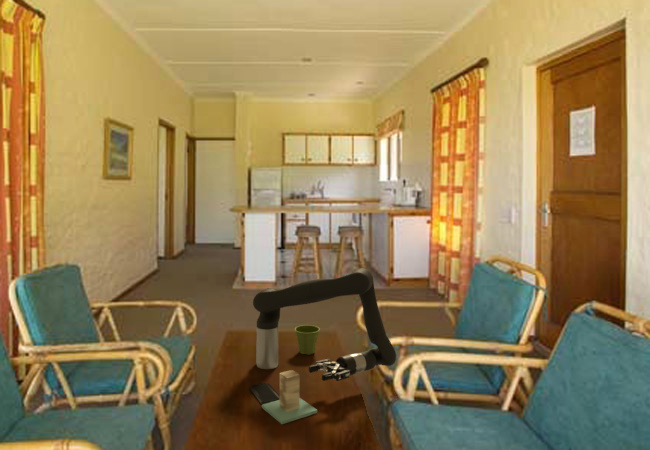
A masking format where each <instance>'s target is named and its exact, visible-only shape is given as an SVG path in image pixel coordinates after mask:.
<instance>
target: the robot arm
mask: <svg viewBox="0 0 650 450" xmlns="http://www.w3.org/2000/svg"><path fill="white" fill-rule="evenodd" d="M373 276H374V275H373V274H372V273H371V271H370V270H369V269H367V268H363V267H361V268H357V269H355V270H354V271H353V272H352V273H349V274H346V275H342V276H340V277H336V278H316V279H315V278H314V279H311V280H310V279H309V280H306V281H302V282H299V283H296V284H293V285H291V286H288V287H285V288H282V289H279V290H276V289H275V288H272V287H269V288H264V289H263V290H261V291H259V292H257V294H255V296H254V297H253V300H252V305H253V307H254V309H255V310H256V311H257V312H258V313H259V315H258V318H257V319H256V342H255V343H256V345H255V348H256V350H255V352H256V353H255V355H256V357H255V359H256V360H255V361H256V362H255V363H256V367H257V368H259V369H262V370H273V369H276V368H277V367H278V366H279V321H280V318H281V309H283V308H287V307H295V306H302V305H309V304H314V303H318V302H322V301H323V302H324V301H327V300H331V299H334V298H338V297H343V296H356V295H357V296H358V295H359V297H360V301H361V305H362V312H363V320H364V325H365V329H366V332H367V335H368V339H369V341H370V343H371V344H373V345H375V346H376V347H372V348H370V349H368V350H366V351H361V352H357V353H350V354H346V355H342V356H341V355H340V356H339V357H338V358H337V359H336V360H335V361H330V358H327V359H326V358H325V359H321V360H317V361H315V364H312V365H309V367H308V372H309V373H310V374H312V373H314V372H315V373H316V372H319V371H322V372H323V374H321V381H323V382H325V381H329V380H332V381H333V380H335V381H336V382H339V381H343V380H346V379H349V378H350V376H354V375H357V374H360V373H362V372H363V373H364V372H366V371H370V370H372V369H373V368H375V367H376V366H387V367H390V366H393V365H394V364H395V363H396V361H397V354H396V353H397V352H396V349H395V347H394V345H393V343H392V342H391V340H390V338H389V337H388V335H387V333H386V329H385V326H384V322H383V319H382V316H381V311H380V309H379V305H378V301H377V297H376V291H375V283H374V277H373Z"/></svg>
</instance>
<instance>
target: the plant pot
mask: <svg viewBox="0 0 650 450" xmlns="http://www.w3.org/2000/svg"><path fill="white" fill-rule="evenodd" d="M294 331H295V335H296V338H297V345H298V352H299V353H300V354H301V355H307V356H309V355H313V354H314V353H315V352H316V347H317V342H318V336H319V332H320V331H321V328H320V327H319V326H317V325H313V324H303V325H302V324H301V325H299V326H298V325H297V326H295V328H294Z"/></svg>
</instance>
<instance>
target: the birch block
mask: <svg viewBox="0 0 650 450" xmlns="http://www.w3.org/2000/svg"><path fill="white" fill-rule="evenodd" d="M300 377H301V376H300V374H299V373H298V372H297V371H295V370H293V369H289V370H287V371H282V372H279V395H280V407H281V408H282V409H283V410H285V411H286V412H289V411H292V410H295V409H298V408H299V397H300V384H301V383H300Z"/></svg>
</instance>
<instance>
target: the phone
mask: <svg viewBox="0 0 650 450" xmlns="http://www.w3.org/2000/svg"><path fill="white" fill-rule="evenodd" d="M249 390H250V392H251V393H252V394H253V395H254V397H255V398H256V399H257V401H258V402H259V403H260V404H261V405H263V404H267V403H270V402H273V401H277V400H280V393H278V392H277V391H276V390H275V389H274V388H273V386H272V385H271V384H270V383H268V382H264V383H259V384H254V385H250V386H249Z"/></svg>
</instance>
